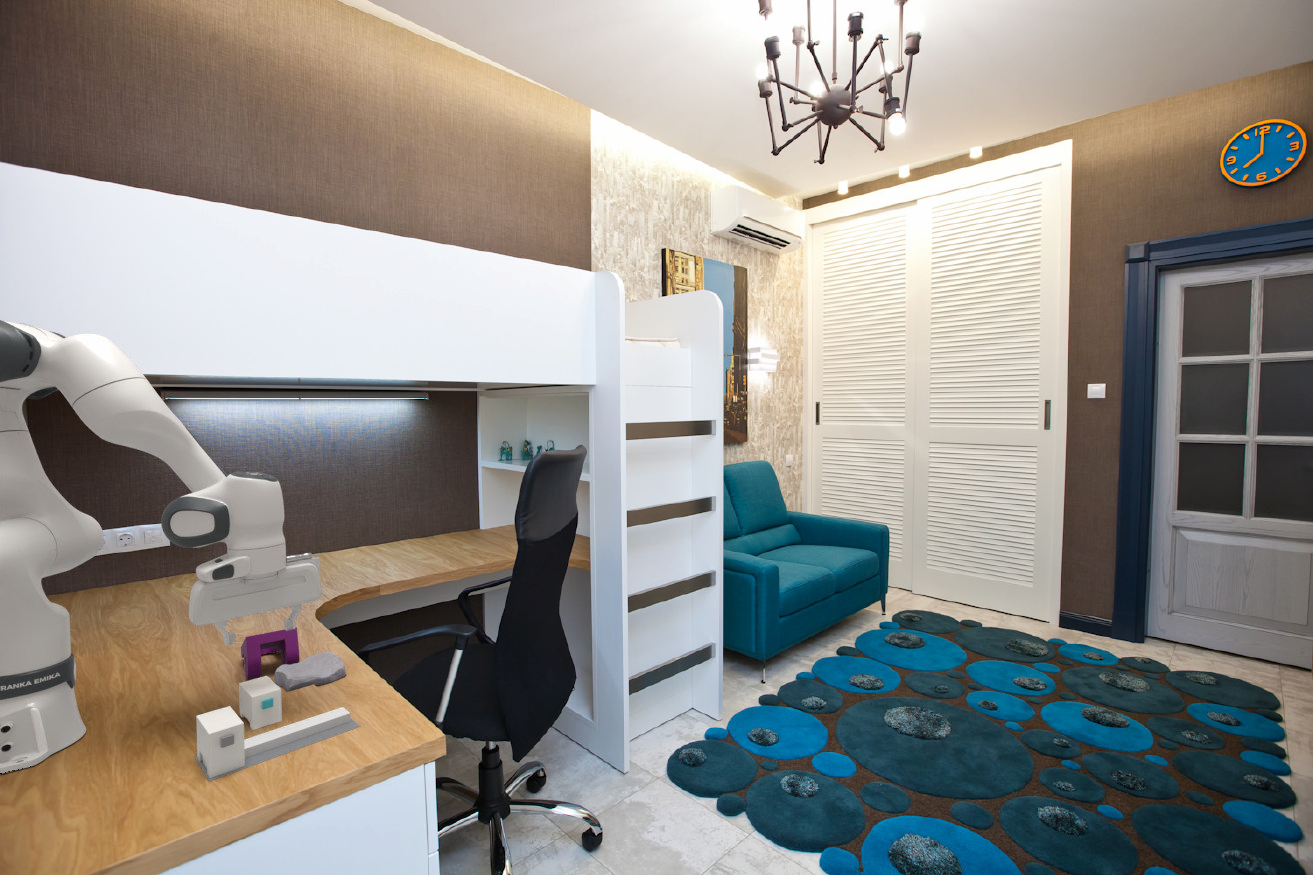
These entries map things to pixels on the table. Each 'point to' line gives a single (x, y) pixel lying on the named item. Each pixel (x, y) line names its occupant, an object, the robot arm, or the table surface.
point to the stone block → (310, 671)
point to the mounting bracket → (269, 650)
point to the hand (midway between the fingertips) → (260, 636)
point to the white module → (260, 702)
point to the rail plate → (288, 747)
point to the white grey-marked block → (220, 741)
